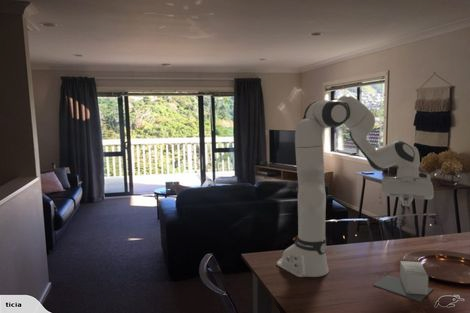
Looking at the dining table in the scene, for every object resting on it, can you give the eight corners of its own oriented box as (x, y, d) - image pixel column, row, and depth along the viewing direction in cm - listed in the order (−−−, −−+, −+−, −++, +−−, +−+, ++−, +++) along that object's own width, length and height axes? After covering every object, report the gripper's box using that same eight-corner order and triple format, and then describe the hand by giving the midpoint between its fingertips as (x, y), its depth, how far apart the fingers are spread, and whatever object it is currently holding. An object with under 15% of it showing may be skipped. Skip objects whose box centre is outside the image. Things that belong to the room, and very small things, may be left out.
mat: (373, 285, 138) (373, 284, 138) (387, 275, 146) (387, 274, 146) (420, 302, 126) (420, 300, 126) (432, 289, 134) (432, 288, 134)
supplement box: (420, 279, 141) (428, 296, 129) (399, 277, 143) (405, 293, 131) (420, 261, 140) (429, 276, 128) (400, 260, 142) (406, 274, 130)
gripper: (381, 172, 160) (378, 198, 153) (434, 175, 151) (433, 203, 143) (382, 180, 165) (379, 206, 157) (433, 183, 155) (432, 211, 148)
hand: (405, 205), depth 150 cm, fingers closed
